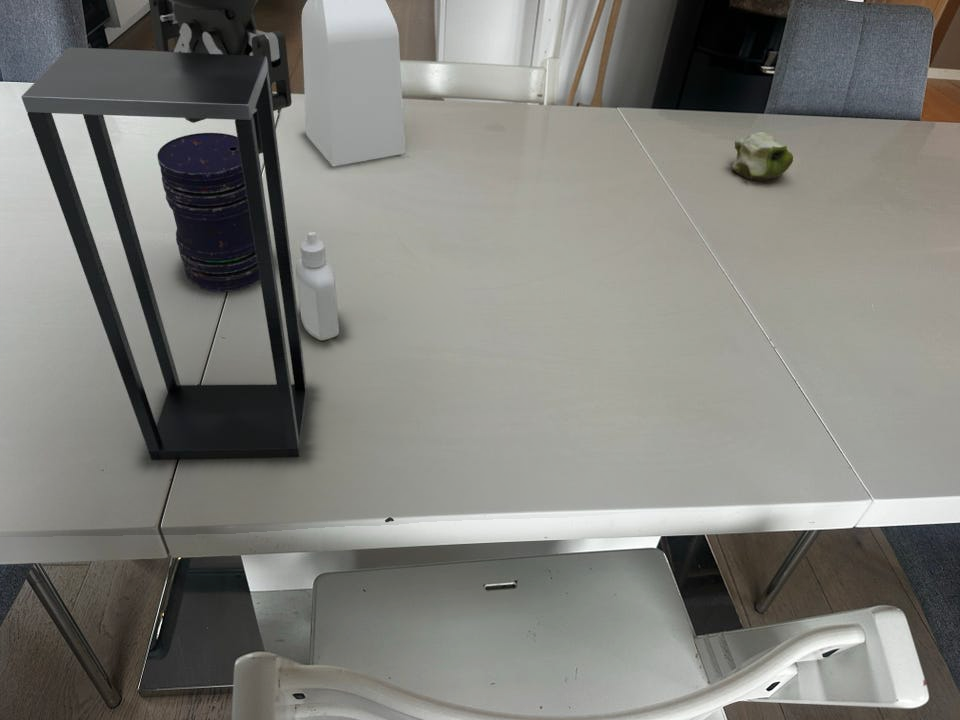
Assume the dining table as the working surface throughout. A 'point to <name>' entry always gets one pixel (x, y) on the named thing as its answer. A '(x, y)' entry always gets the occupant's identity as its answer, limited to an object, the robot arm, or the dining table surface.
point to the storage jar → (210, 210)
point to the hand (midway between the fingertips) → (228, 135)
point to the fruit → (761, 157)
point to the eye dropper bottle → (317, 290)
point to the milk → (352, 80)
